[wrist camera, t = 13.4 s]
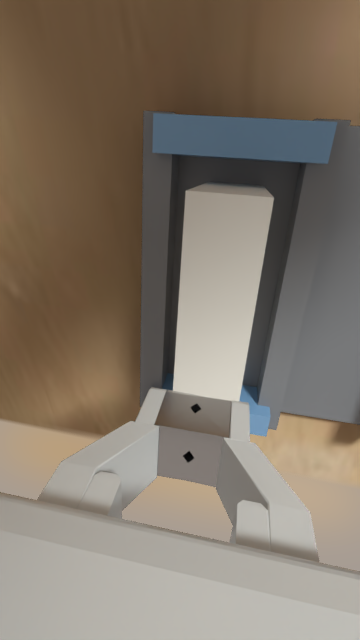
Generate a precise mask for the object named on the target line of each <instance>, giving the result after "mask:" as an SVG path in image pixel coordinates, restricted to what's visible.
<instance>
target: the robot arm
mask: <svg viewBox="0 0 360 640" xmlns="http://www.w3.org/2000/svg"><path fill="white" fill-rule="evenodd" d="M157 475H158V476H163V477H169V478H175V479H181V480H186V479H187V480H186V481H191V482H196V483H200V484H204V485H208V486H213V487H216V490H217V492H218V495H219V496H220V499H221V501H222V503H223V505H224V508H225V509H226V512H227V514H228V516H229V518H230V520H231V523H232V525H233V528H232V533H231V538H230V543H228V542H224V541H219V540H215V539H210V538H206V537H201V536H197V535H192V534H188V533H183V532H178V531H174V530H169V529H165V528H160V527H156V526H151V525H147V524H142V523H137V522H133V521H128V520H124V519H122V510H123V509H124V508H126V507H127V505H128V504H130V503H131V502H132V501H133V500H134V499H135V498H136V497H137V496H138V495H139V494H140V493H141V492H142V491H143V490H144V489H145V488H146V487H147V486H148V485H149V484H150V483H151V482H152V481H153V480H154V479H156V478H157ZM0 640H360V571H355V570H351V569H346V568H342V567H337V566H332V565H328V564H324V563H320V562H319V557H318V552H317V546H316V541H315V536H314V531H313V525H312V519H311V515H310V512H309V510H308V509H307V508H306V506H305V505H304V504H303V503H302V501H301V500H300V499H299V498H298V496H297V495H296V494H295V493H294V491H293V490H292V489H291V488H290V486H289V485H288V484H287V483H286V481H285V480H284V479H283V478H282V476H281V475H280V474H279V472H278V471H277V470H276V469H275V467H274V466H273V465H272V464H271V462H270V461H269V460H268V459H267V457H266V456H265V455H264V454H263V452H262V451H261V450H260V449H259V447H258V446H257V445H256V444H255V443H252V442H250V412H249V403H248V402H241V401H233V400H232V401H229V400H223V399H217V398H210V397H204V396H199V395H194V394H188V393H183V392H177V391H172V390H166V389H160V388H154V387H151V388H150V389H149V391H148V393H147V395H146V398H145V400H144V402H143V404H142V407H141V409H140V411H139V413H138V416H137V418H136V420H135V422H134V421H129V422H127V423H126V424H124V425H122V426H121V427H119V428H117V429H116V430H114V431H112V432H111V433H109V434H107V435H105V436H104V437H102V438H100V439H99V440H97V441H95V442H94V443H92V444H90V445H88V446H87V447H85V448H84V449H82V450H80V451H78V452H77V453H75V454H73V455H72V456H70V457H68V458H67V459H65V460H63V461H61V463H60V464H59V466H58V468H57V469H56V471H55V472H54V474H53V476H52V477H51V479H50V480H49V482H48V483H47V485H46V486H45V488H44V490H43V491H42V493H41V494H40V496H39V497H38V499H37V500H33V499H29V498H24V497H20V496H15V495H11V494H6V493H1V492H0Z"/></svg>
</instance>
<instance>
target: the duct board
mask: <svg viewBox="0 0 360 640" xmlns="http://www.w3.org/2000/svg"><path fill="white" fill-rule="evenodd" d="M350 122H351V120H334V119H315V120H313V121H308V120H286V119H265V118H244V117H223V116H202V115H180V114H176V113H175V112H161V111H144V114H143V196H142V278H141V360H140V407H142V404H143V402H144V400H145V398H146V395H147V393H148V391H149V389H150V388H151V387H154V388H160V389H166V390H172V391H173V381H174V365H175V349H176V334H177V318H178V303H179V287H180V272H181V256H182V241H183V225H184V209H185V194H186V190H189V189H191V188H194V187H197V186H199V185H202V184H204V183H207V182H219V183H232V184H246V185H259V186H264V187H265V188H266V189H267V190H268V191H269V193H270V194H271V195H272V196H273V197H274V201H273V207H272V213H271V219H270V225H269V231H268V236H267V242H266V248H265V254H264V260H263V266H262V271H261V277H260V283H259V289H258V295H257V301H256V306H255V312H254V318H253V324H252V330H251V336H250V341H249V347H248V353H247V359H246V365H245V371H244V376H243V382H242V388H241V394H240V400H239V401H241V402H248V403H249V412H250V434H255V435H260V436H266V435H267V431H268V429H273V430H276V429H277V425H278V421H279V417H280V412H286V413H292V414H298V415H304V416H310V417H316V418H322V419H328V420H334V421H340V422H346V423H353V424H359V425H360V126H350Z"/></svg>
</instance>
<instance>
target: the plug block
mask: <svg viewBox="0 0 360 640" xmlns="http://www.w3.org/2000/svg"><path fill="white" fill-rule="evenodd" d="M273 201H274V197H273V196H272V195H271V194H270V193H269V191H268V190H267V189H266V188H265V187H264V186H259V185H246V184H232V183H219V182H207V183H204V184H202V185H199V186H197V187H194V188H191V189H189V190H186V194H185V209H184V225H183V241H182V256H181V272H180V287H179V303H178V318H177V334H176V349H175V365H174V381H173V391H177V392H183V393H188V394H194V395H199V396H204V397H210V398H217V399H223V400H229V401H232V400H233V401H239V400H240V394H241V388H242V382H243V376H244V371H245V365H246V359H247V353H248V347H249V341H250V336H251V330H252V324H253V318H254V312H255V306H256V301H257V295H258V289H259V283H260V277H261V271H262V266H263V260H264V254H265V248H266V242H267V236H268V231H269V225H270V219H271V213H272V207H273Z"/></svg>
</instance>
